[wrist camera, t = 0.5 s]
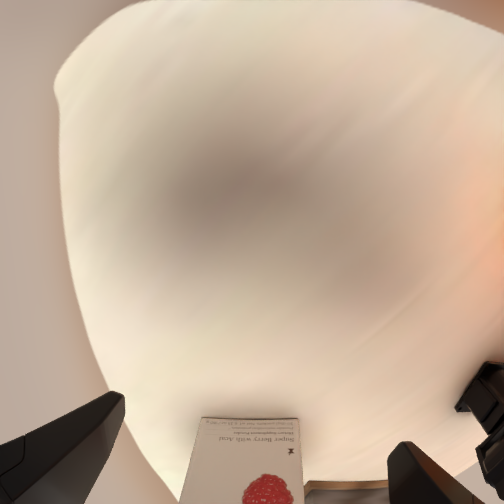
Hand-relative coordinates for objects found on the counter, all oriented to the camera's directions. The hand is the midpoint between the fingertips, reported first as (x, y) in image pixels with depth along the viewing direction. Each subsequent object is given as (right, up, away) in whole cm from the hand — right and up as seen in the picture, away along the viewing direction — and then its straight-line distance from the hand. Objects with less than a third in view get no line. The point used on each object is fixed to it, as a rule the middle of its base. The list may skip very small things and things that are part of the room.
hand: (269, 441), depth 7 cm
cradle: (+10, -28, +20) cm, 36 cm away
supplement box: (-1, -13, +17) cm, 22 cm away
